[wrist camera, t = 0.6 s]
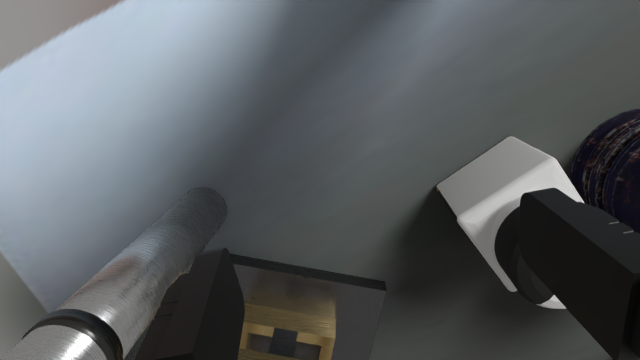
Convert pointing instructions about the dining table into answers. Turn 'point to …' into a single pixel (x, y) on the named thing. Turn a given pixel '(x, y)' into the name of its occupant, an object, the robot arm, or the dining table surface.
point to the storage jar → (611, 168)
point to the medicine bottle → (504, 209)
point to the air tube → (126, 287)
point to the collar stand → (306, 312)
